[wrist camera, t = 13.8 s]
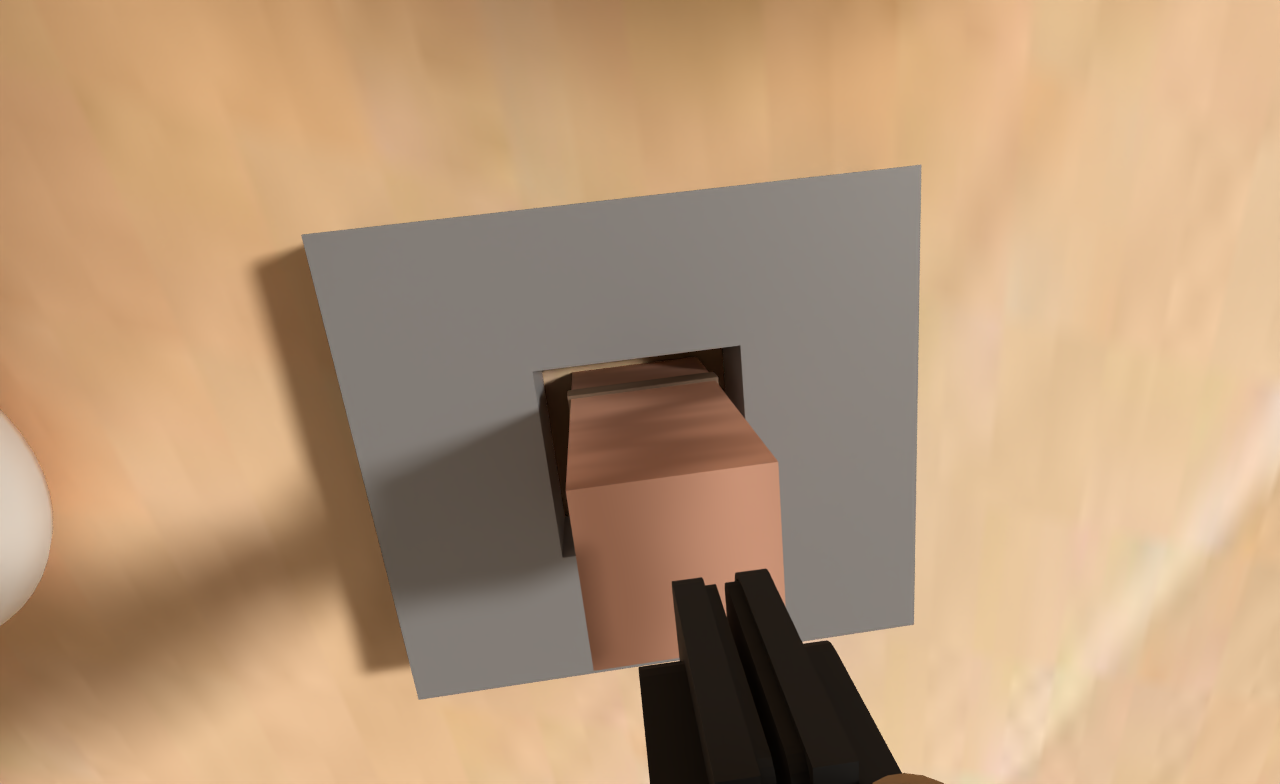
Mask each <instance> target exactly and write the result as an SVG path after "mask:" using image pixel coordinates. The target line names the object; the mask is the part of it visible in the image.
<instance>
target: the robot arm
mask: <svg viewBox="0 0 1280 784" xmlns="http://www.w3.org/2000/svg"><path fill="white" fill-rule="evenodd" d="M672 594H673V603H674V613H675V622H676V631H677V641H678V650H679V659H680V661H678V662H671V663H664V664H657V665H650V666H643V667H639V677H640V687H641V697H642V707H643V717H644V727H645V737H646V747H647V757H648V767H649V777H650V784H944V783H942V782H939V781H937V780H934V779H931V778H929V777H926V776H923V775H915V774H907V773H902V772H901V770H900V769H899V767H898V765H897V763H896V761H895V759H894V757H893V756H892V754H891V752H890V750H889V748H888V746H887V744H886V743H885V741H884V739H883V737H882V735H881V733H880V732H879V730H878V728H877V726H876V724H875V722H874V720H873V719H872V717H871V715H870V713H869V711H868V709H867V707H866V706H865V704H864V702H863V700H862V698H861V696H860V694H859V693H858V691H857V689H856V687H855V685H854V683H853V681H852V680H851V678H850V676H849V674H848V672H847V670H846V668H845V667H844V665H843V663H842V661H841V659H840V657H839V655H838V654H837V652H836V650H835V648H834V647H833V645H832V644H831V643H830V642H829V641H820V642H813V643H806V644H803V643H802V640H801V638H800V636H799V634H798V632H797V630H796V628H795V626H794V624H793V621H792V619H791V617H790V615H789V613H788V611H787V609H786V607H785V605H784V602H783V600H782V598H781V596H780V594H779V592H778V590H777V588H776V586H775V583H774V581H773V579H772V577H771V575H770V573H769V571H768V570H767V569H766V568H765V569H758V570H751V571H743V572H736V573H735V581H734V582H726V583H725V601H726V613H725V610H724V607H723V604H722V601H721V598H720V595H719V592H718V589H717V586H716V584H712V585H705V583H704V580H703V578H702V577H699V578H692V579H685V580H677V581H672ZM726 614H727V616H726Z"/></svg>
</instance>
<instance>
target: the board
mask: <svg viewBox="0 0 1280 784" xmlns="http://www.w3.org/2000/svg"><path fill="white" fill-rule="evenodd" d="M920 214H921V165H915V166H907V167H898V168H889V169H880V170H871V171H862V172H853V173H844V174H836V175H827V176H818V177H809V178H800V179H791V180H782V181H774V182H765V183H756V184H747V185H738V186H729V187H720V188H711V189H703V190H694V191H685V192H676V193H667V194H658V195H649V196H641V197H632V198H623V199H614V200H605V201H596V202H587V203H578V204H570V205H561V206H552V207H543V208H534V209H525V210H516V211H508V212H499V213H490V214H481V215H472V216H463V217H454V218H446V219H437V220H428V221H419V222H410V223H401V224H392V225H383V226H375V227H366V228H357V229H348V230H339V231H330V232H321V233H313V234H304V235H301V236H302V240H303V244H304V248H305V251H306V255H307V259H308V263H309V267H310V271H311V275H312V279H313V283H314V287H315V291H316V295H317V299H318V303H319V307H320V311H321V315H322V319H323V323H324V327H325V331H326V335H327V338H328V342H329V346H330V350H331V354H332V358H333V362H334V366H335V370H336V374H337V378H338V382H339V386H340V390H341V394H342V398H343V402H344V406H345V410H346V414H347V418H348V422H349V425H350V429H351V433H352V437H353V441H354V445H355V449H356V453H357V457H358V461H359V465H360V469H361V473H362V477H363V481H364V485H365V489H366V493H367V497H368V501H369V505H370V509H371V513H372V516H373V520H374V524H375V528H376V532H377V536H378V540H379V544H380V548H381V552H382V556H383V560H384V564H385V568H386V572H387V576H388V580H389V584H390V588H391V592H392V596H393V600H394V603H395V607H396V611H397V615H398V619H399V623H400V627H401V631H402V635H403V639H404V643H405V647H406V651H407V655H408V659H409V663H410V667H411V671H412V675H413V679H414V683H415V687H416V690H417V694H418V698H419V700H420V699H427V698H433V697H440V696H447V695H453V694H460V693H466V692H473V691H479V690H486V689H493V688H499V687H506V686H512V685H519V684H526V683H532V682H539V681H545V680H552V679H558V678H565V677H572V676H578V675H585V674H591V673H598V672H605V671H611V670H618V669H624V668H631V667H638V666H644V665H651V664H657V663H664V662H670V661H677V660H680V659H679V658H675V659H669V660H662V661H656V662H649V663H643V664H636V665H630V666H623V667H616V668H610V669H603V670H597V671H594V670H593V663H592V657H591V650H590V644H589V638H588V631H587V625H586V618H585V612H584V605H583V599H582V592H581V586H580V580H579V573H578V567H577V560H576V554H575V547H574V541H573V535H572V528H571V522H570V516H566V517H565V515H564V508H563V502H562V496H561V489H560V483H559V476H558V470H557V464H556V457H555V451H554V445H553V438H552V432H551V426H550V419H549V413H548V407H547V400H546V394H545V388H544V381H543V375H542V370H549V369H557V368H565V367H573V366H581V365H589V364H597V363H605V362H613V361H621V360H629V359H636V358H644V357H652V356H660V355H668V354H676V353H684V352H692V351H700V350H708V349H716V348H722V355H723V369H724V382H725V394H726V395H727V396H728V398H729V399H730V400H731V402H732V403H733V404H734V405H735V407H736V408H737V409H738V411H739V412H740V413H741V414H742V416H743V417H744V418H745V420H746V421H747V422H748V423H749V425H750V426H751V427H752V429H753V430H754V431H755V432H756V434H757V435H758V436H759V438H760V439H761V440H762V441H763V443H764V444H765V445H766V447H767V448H768V449H769V450H770V452H771V453H772V454H773V456H774V457H775V458H776V460H777V461H778V466H779V486H780V505H781V525H782V545H783V565H784V584H785V604H786V609H787V611H788V613H789V615H790V617H791V619H792V621H793V624H794V626H795V628H796V630H797V632H798V634H799V636H800V638H801V640H802V641H809V640H815V639H822V638H828V637H835V636H842V635H848V634H855V633H861V632H868V631H875V630H881V629H888V628H894V627H901V626H907V625H914V581H915V520H916V459H917V397H918V336H919V275H920Z"/></svg>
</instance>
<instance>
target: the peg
mask: <svg viewBox="0 0 1280 784" xmlns="http://www.w3.org/2000/svg"><path fill="white" fill-rule="evenodd" d="M567 398H568V405H569V411H570V426H569V443H568V460H567V477H566V496H567V502H568V509H569V515H570V522H571V528H572V535H573V541H574V547H575V554H576V560H577V567H578V573H579V580H580V586H581V592H582V599H583V605H584V612H585V618H586V625H587V631H588V638H589V644H590V650H591V657H592V663H593V670H594V671H597V670H603V669H610V668H616V667H623V666H630V665H636V664H643V663H649V662H656V661H662V660H669V659H675V658H679V650H678V641H677V631H676V622H675V613H674V603H673V594H672V581H677V580H685V579H692V578H699V577H702V578H703V580H704V583H705V585H712V584H716V586H717V589H718V592H719V595H720V598H721V601H722V604H723V607H724V610H725V613H726V601H725V583H726V582H734V581H735V573H736V572H743V571H751V570H758V569H765V568H766V569H767V570H768V571H769V573H770V575H771V577H772V579H773V581H774V583H775V586H776V588H777V590H778V592H779V594H780V596H781V598H782V600H783V602H784V605H785V607H786V604H785V584H784V565H783V545H782V525H781V505H780V486H779V466H778V461H777V460H776V458H775V457H774V456H773V454H772V453H771V452H770V450H769V449H768V448H767V447H766V445H765V444H764V443H763V441H762V440H761V439H760V438H759V436H758V435H757V434H756V432H755V431H754V430H753V429H752V427H751V426H750V425H749V423H748V422H747V421H746V420H745V418H744V417H743V416H742V414H741V413H740V412H739V411H738V409H737V408H736V407H735V405H734V404H733V403H732V402H731V400H730V399H729V398H728V396H727V395H726V394H725V393H724V391H723V390H722V389H721V387H720V386H719V382H718V376H717V375H716V374H715V373H714V372H708V371H707V369H706V368H705V367H704V365H703V364H702V363H701V362H700V360H699V359H698V358H697V357H690V358H682V359H674V360H667V361H659V362H651V363H643V364H635V365H627V366H619V367H611V368H604V369H596V370H588V371H580V372H573V374H572V390H568V394H567ZM726 616H727V614H726Z"/></svg>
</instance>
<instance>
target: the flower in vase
mask: <svg viewBox="0 0 1280 784" xmlns="http://www.w3.org/2000/svg"><path fill="white" fill-rule="evenodd" d="M52 534H53V508H52V503H51V497H50V491H49V488H48V485H47V482H46V479H45V476H44V473H43V470H42V468H41V466H40V464H39V462H38V460H37V458H36V456H35V453H34V452H33V450H32V449H31V447H30V446H29V444H28V443H27V441H26V439H25V438H24V436H23V435H22V433H21V432H20V431H19V430H18V429H17V427H16V426H15V425H14V424H13V423H12V421H11V420H10V419H9V418H8V416H7V415H6V414H5V413H4V412H3V411H2V410H1V409H0V626H1V625H2V624H4V623H5V622H7V621H8V620H9V619H10V618H11V617H12V616H13V615H14V614H16V613H17V612H18V611H19V610H20V609H21V608H22V607H23V606H24V604H25V603H26V602H27V600H28V599H29V598H30V597H31V595H32V594H33V593H34V591H35V589H36V587H37V585H38V583H39V582H40V580H41V578H42V576H43V573H44V570H45V567H46V564H47V561H48V557H49V551H50V546H51V540H52Z"/></svg>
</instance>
